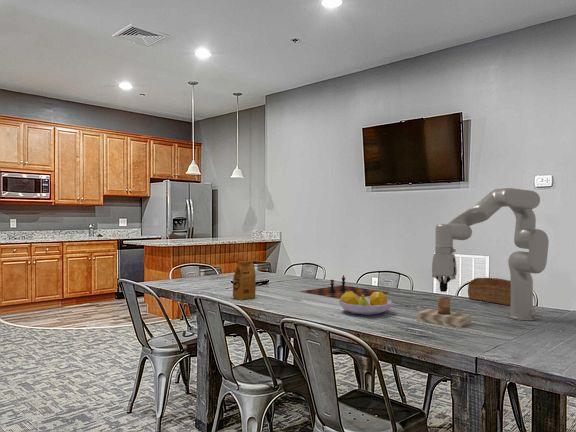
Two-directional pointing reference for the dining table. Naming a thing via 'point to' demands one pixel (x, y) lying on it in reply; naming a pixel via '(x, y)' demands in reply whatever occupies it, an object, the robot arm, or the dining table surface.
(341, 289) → the chessboard
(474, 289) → the bread
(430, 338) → the dining table surface
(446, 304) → the peg
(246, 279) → the coffee package
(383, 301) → the fruit bowl
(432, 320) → the board
